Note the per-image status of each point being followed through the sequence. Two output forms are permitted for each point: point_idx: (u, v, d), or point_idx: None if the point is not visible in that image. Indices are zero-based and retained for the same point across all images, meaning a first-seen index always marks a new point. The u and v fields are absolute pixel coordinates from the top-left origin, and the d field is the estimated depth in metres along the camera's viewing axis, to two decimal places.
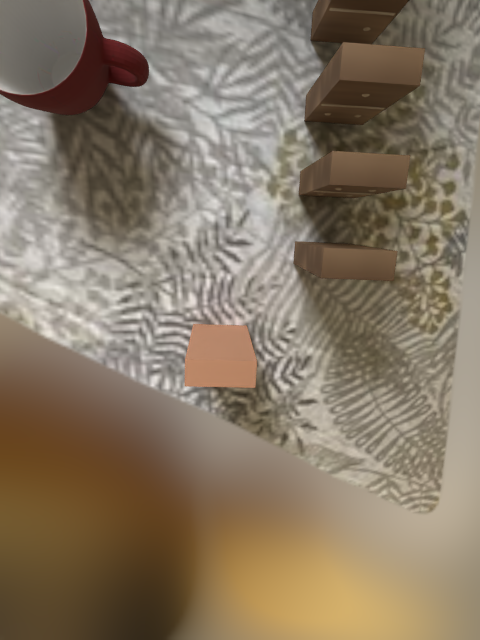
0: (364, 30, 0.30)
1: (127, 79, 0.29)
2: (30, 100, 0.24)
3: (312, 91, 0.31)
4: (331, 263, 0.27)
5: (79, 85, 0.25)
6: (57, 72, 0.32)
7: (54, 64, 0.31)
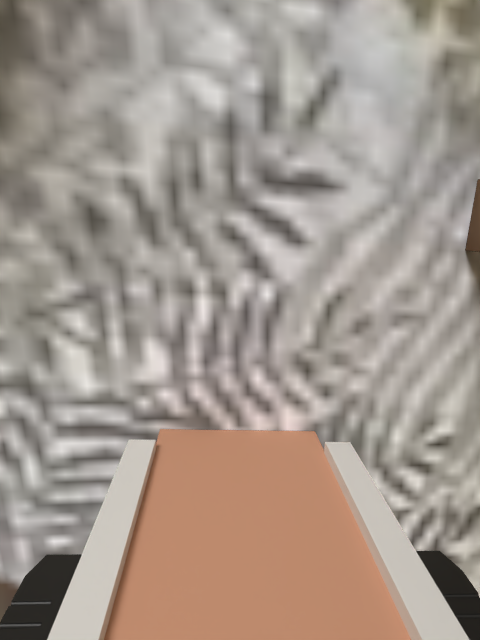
0: None
1: None
2: None
3: None
4: None
5: None
6: None
7: None
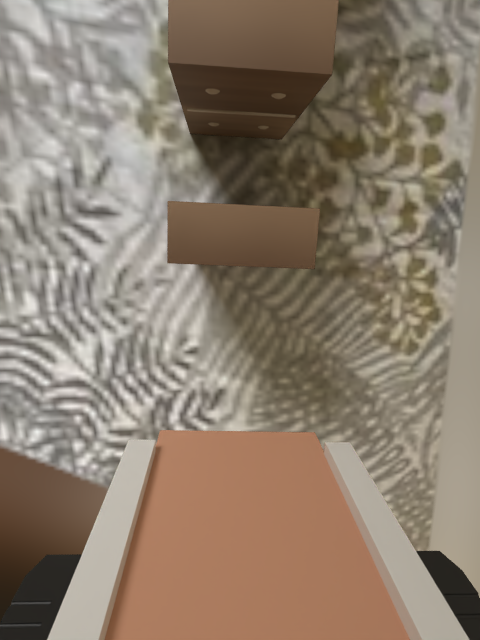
0: None
1: None
2: None
3: None
4: (186, 233, 0.13)
5: None
6: None
7: None
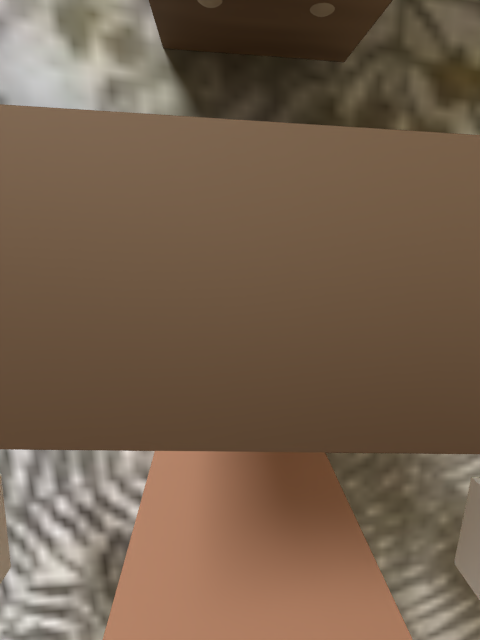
0: None
1: None
2: None
3: None
4: (44, 294, 0.02)
5: None
6: None
7: None
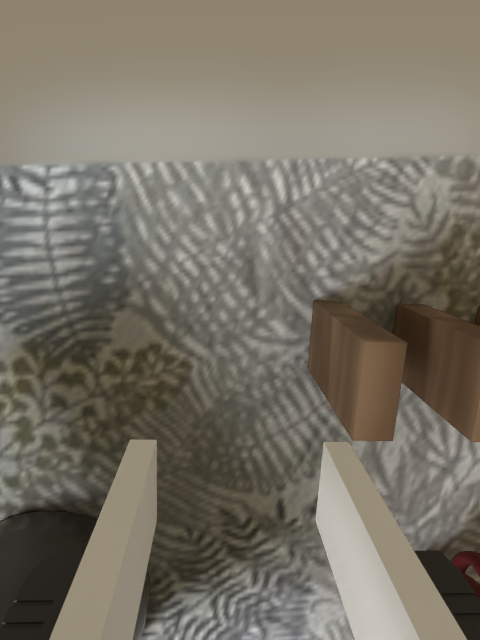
0: None
1: (469, 564, 0.30)
2: None
3: None
4: None
5: None
6: None
7: None
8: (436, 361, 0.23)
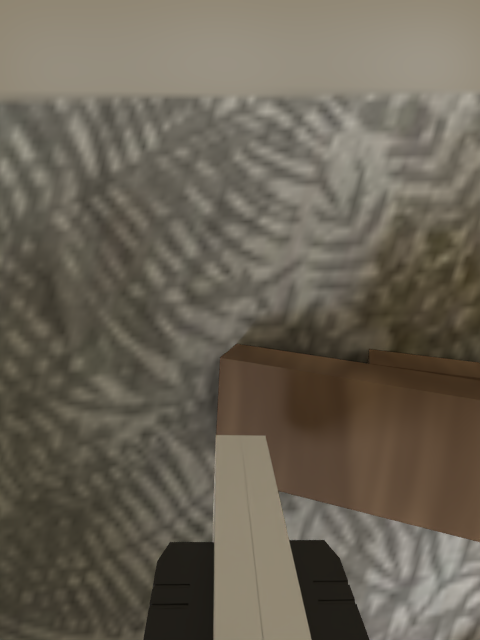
0: None
1: None
2: None
3: None
4: None
5: None
6: None
7: None
8: None
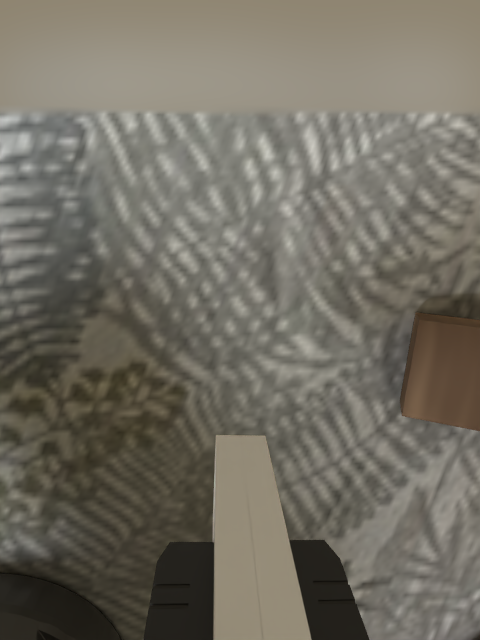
0: None
1: None
2: None
3: None
4: None
5: None
6: None
7: None
8: None
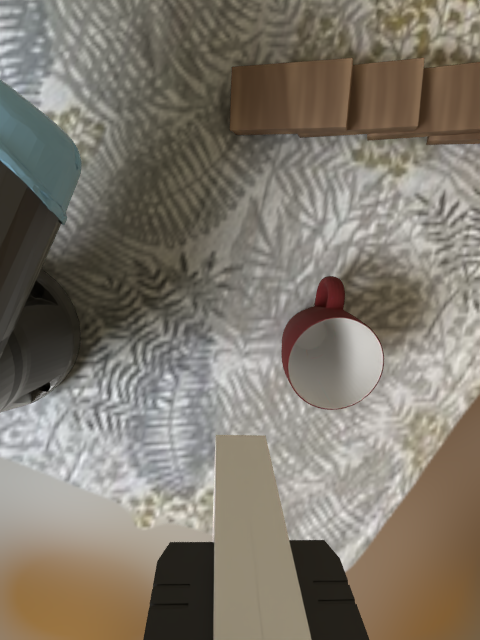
0: None
1: (328, 293, 0.38)
2: None
3: (394, 135, 0.36)
4: None
5: None
6: (304, 345, 0.42)
7: (299, 346, 0.42)
8: (369, 92, 0.33)
